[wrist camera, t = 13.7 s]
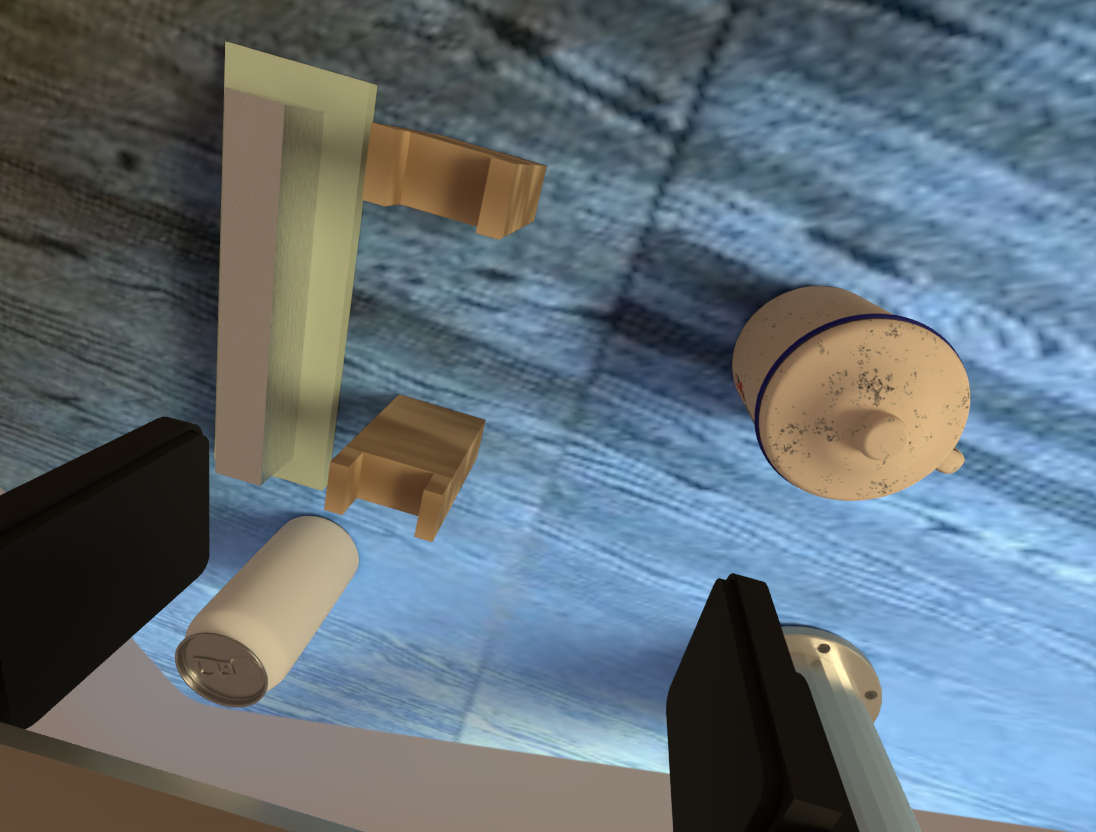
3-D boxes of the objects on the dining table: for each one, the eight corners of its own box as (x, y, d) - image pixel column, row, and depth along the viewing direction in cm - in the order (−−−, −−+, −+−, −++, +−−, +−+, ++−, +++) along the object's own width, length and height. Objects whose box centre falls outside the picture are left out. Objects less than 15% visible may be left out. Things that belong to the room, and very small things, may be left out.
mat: (328, 483, 42) (322, 490, 41) (223, 452, 42) (214, 458, 41) (377, 85, 32) (369, 83, 31) (237, 45, 32) (225, 41, 31)
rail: (293, 457, 40) (260, 485, 37) (252, 445, 40) (215, 472, 37) (324, 112, 32) (284, 104, 28) (271, 96, 32) (225, 87, 28)
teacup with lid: (696, 380, 36) (725, 469, 25) (793, 249, 32) (875, 287, 22) (855, 476, 37) (947, 600, 26) (966, 359, 33) (1125, 447, 23)
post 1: (533, 221, 33) (498, 239, 24) (433, 191, 33) (361, 199, 24) (547, 166, 32) (515, 164, 23) (442, 135, 32) (371, 122, 23)
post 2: (476, 458, 40) (432, 541, 31) (392, 433, 40) (324, 509, 31) (485, 420, 39) (442, 495, 30) (399, 394, 39) (330, 461, 30)
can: (368, 584, 45) (285, 716, 34) (291, 581, 46) (186, 709, 35) (352, 513, 43) (258, 630, 32) (271, 511, 44) (152, 625, 33)
